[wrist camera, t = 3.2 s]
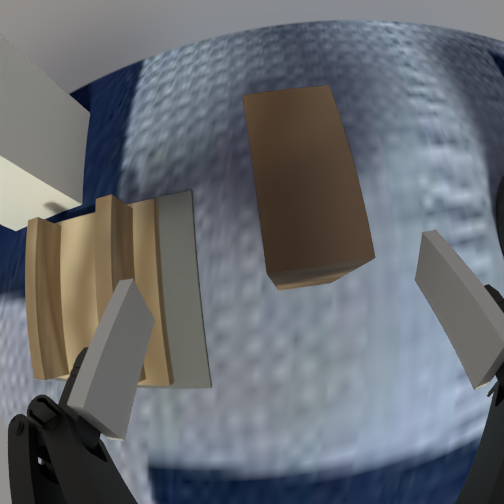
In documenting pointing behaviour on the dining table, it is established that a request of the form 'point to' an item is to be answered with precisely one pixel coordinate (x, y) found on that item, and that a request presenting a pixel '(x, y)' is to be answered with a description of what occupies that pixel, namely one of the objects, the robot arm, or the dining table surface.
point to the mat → (181, 293)
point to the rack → (92, 283)
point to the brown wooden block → (306, 188)
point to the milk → (37, 142)
